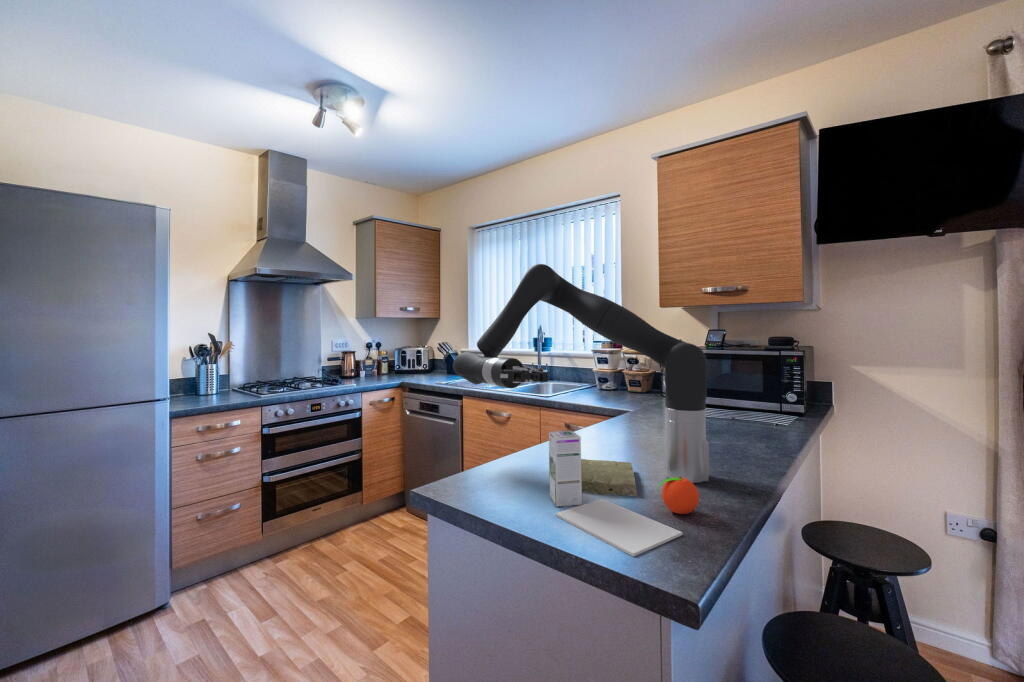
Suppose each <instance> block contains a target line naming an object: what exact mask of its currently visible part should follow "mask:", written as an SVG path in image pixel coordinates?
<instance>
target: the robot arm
mask: <svg viewBox="0 0 1024 682" xmlns="http://www.w3.org/2000/svg"><path fill="white" fill-rule="evenodd" d="M539 302H544V303H547V304H548V305H551V306H554V307H556V308H558V309H561V310H562V311H564V312H566V313H567V314H569V315H571V316H572V317H573V318H575V319H576V320H577V322H578V321H579V323H581V324H582V325H584V326H585V327H587V328H588V329H590V330H591V331H593V332H594V333H597V334H598V335H599V336H602V337H603V338H605V339H607V340H608V341H610V342H613V343H615V344H617V345H619V346H622V347H624V348H626V349H630V350H632V351H634V352H637V353H640V354H642V355H643V356H646V357H648V358H649V359H650V360H652V361H654V362H656V363H657V364H658V365H660V366H661V367H663V368H664V369H665V372H664V373H665V374H664V375H665V380H664V381H665V391H664V393H665V394H664V395H665V396H664V397H665V398H664V399H665V401H664V403H665V406H664V409H665V412H664V413H665V416H664V417H665V420H664V422H665V423H664V425H665V428H664V431H665V434H664V435H665V440H664V441H665V452H664V453H665V458H664V459H665V467H664V469H665V471H664V472H665V474H664V475H665V477H667V479H668V478H674V477H682V478H686V479H688V480H689V481H691V482H692V483H693V484H698V483H703V482H709V481H710V480H709V479H710V477H709V475H710V474H709V472H710V470H709V467H710V466H709V465H710V463H709V462H710V461H709V460H710V459H709V458H710V457H709V456H710V455H709V452H710V451H709V450H710V446H709V445H710V444H709V441H708V440H707V438H706V434H707V433H706V427H707V426H706V421H707V420H706V419H707V418H706V411H707V410H706V409H707V408H706V407H707V406H706V402H707V395H708V394H707V393H708V392H707V390H708V387H707V385H708V384H707V383H708V382H707V381H708V362H707V358H706V354H705V353H704V351H703V350H702V348H700V347H699V346H698V345H696V344H693V343H690V342H686V341H683V340H681V339H678V338H677V337H673V336H671V335H669V334H667V333H665V332H662V331H660V330H659V329H657V328H656V327H654V326H652V325H651V324H650V323H648V322H647V321H646V320H645V319H644V318H642V317H640V316H638V315H637V314H636V313H634V312H632V311H631V310H629V309H628V308H625V307H624V306H622V305H620V304H618V303H616V302H614V301H612V300H611V299H608V298H606V297H603V296H601V295H598V294H595V293H593V292H592V293H591V292H590V291H589V292H588V291H586V290H583V289H581V288H579V287H577V286H575V285H574V284H573V283H571V282H569V281H567V280H566V279H565V278H563V277H562V276H561V275H560V274H558V273H557V272H556V271H555V270H554V268H552V267H550V266H549V265H548V264H543V263H537V264H534V265H532V266H531V267H529V268H528V269H527V271H526V272H525V274H524V275H523V277H522V278H521V281H520V282H519V284H518V286H517V287H516V289H515V291H514V293H513V294H512V296H511V297H510V299H509V300H508V301H507V303H506V305H505V306H504V308H503V309H502V310H501V311H500V313H499V315H498V316H497V317H496V318H495V319H494V321H492V323H491V325H490V326H489V327H488V328H487V329H486V330H485V331H484V333H483V334H482V335H481V336H480V338H479V339H477V340H478V341H477V342H476V346H477V349H478V351H480V353H482V354H483V355H480V354H477V353H474V352H470V351H465V352H461V353H459V354H458V355H456V357H455V358H454V360H453V363H452V369H453V371H454V373H455V374H456V375H458V376H459V377H461V378H463V380H465V381H467V382H470V383H471V384H473V385H480V384H490V385H491V386H495V387H499V388H506V389H515V388H518V387H519V386H520V385H521V384H522V383H523V384H525V383H534V382H536V383H537V382H538V383H547V382H549V373H548V372H547V371H544V368H543V367H539V368H536V369H535V367H532V366H528V365H524V364H523V363H522V362H521V361H520V360H519V359H518V358H516V357H515V358H514V357H502V356H501V357H500V356H499V355H500V353H502V351H503V350H504V349H505V348H506V347H507V345H508V344H509V343H510V342H511V340H512V339H513V338H514V336H515V334H516V333H517V331H518V330H519V327H520V325H521V323H522V322H523V320H524V318H526V316H527V314H528V313H529V312H530V311H531V309H532V308H533V307H534V306H535V305H536V304H537V303H539Z"/></svg>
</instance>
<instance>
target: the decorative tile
mask: <svg viewBox="0 0 1024 682" xmlns="http://www.w3.org/2000/svg"><path fill="white" fill-rule="evenodd" d="M634 473H635V472H634V469H633V464H632V462H630V461H627V462H626V461H616V460H603V459H602V460H599V459H585V458H583V459H582V458H581V479H582V491H588V492H587V493H589V492H592V493H591V494H593V493H601V494H600V495H605V494H618V495H617V496H625V495H632V496H631V497H638V494H637V485H636V478H635V474H634Z"/></svg>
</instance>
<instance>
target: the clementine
mask: <svg viewBox="0 0 1024 682" xmlns="http://www.w3.org/2000/svg"><path fill="white" fill-rule="evenodd" d="M662 485H663V486H662ZM661 486H662V488H661V499H662V501H663V504H664V505H665V506H666V508H668V509H669V511H672V512H673V513H676V514H679V515H686V514H687V515H688V514H690V513H692V512H694V511H695V510H696V508H697V507H698V505H699V502H700V495H699V491H698V488H697V486H695V483H692V482H691V481H689V480H688V479H686V478H682V477H674V478H668V477H667V478H666V479H664V480H663V481H661V483H660V484H659V485H658V488H657V490H659V488H660V487H661Z"/></svg>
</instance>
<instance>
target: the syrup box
mask: <svg viewBox="0 0 1024 682" xmlns="http://www.w3.org/2000/svg"><path fill="white" fill-rule="evenodd" d="M581 439H582V437H581V436H580V435H579V434H577V433H576V432H575V431H573V430H556V431H549V432H548V458H549V459H548V463H549V464H548V466H549V467H548V469H549V470H548V471H549V472H548V473H549V479H548V480H549V498H550V499H551V501H552V502H553V503H554V505H555V507H558V508H560V507H561V506H566V507H571V506H570V505H578V506H581V505H583V504H582V503H583V502H582V501H583V500H582V498H583V496H582V495H583V492H582V479H581V459H582V449H581V448H582V446H581V444H582V443H581ZM559 506H560V507H559ZM561 508H562V507H561Z"/></svg>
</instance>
